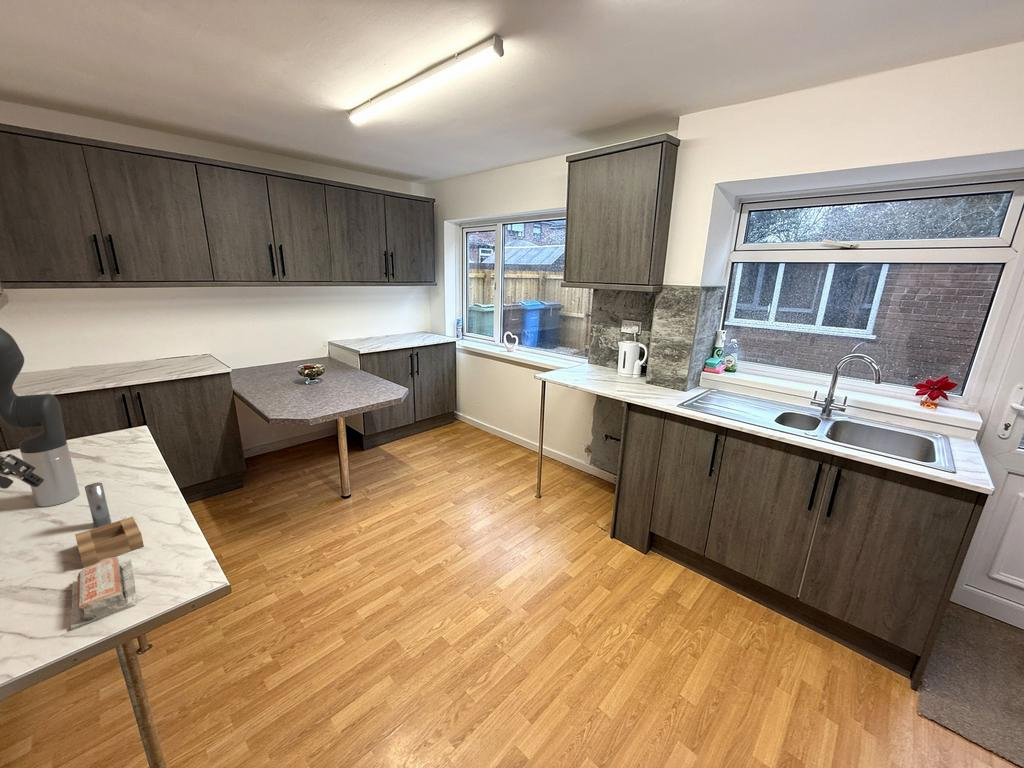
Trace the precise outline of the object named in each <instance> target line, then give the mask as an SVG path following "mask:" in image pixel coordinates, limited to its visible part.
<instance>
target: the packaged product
mask: <svg viewBox="0 0 1024 768" xmlns="http://www.w3.org/2000/svg"><path fill="white" fill-rule="evenodd" d="M71 593H72V594H71V612H70V614H71V615H70V616H71V618H70V630H71V631H73V630H77V629H79V628H81V627H85V626H86V625H89V624H91V623H94V622H97V621H99V620H102V619H104V618H107V617H109V616H112V615H114V614H115V615H116V614H117V613H119V612H123V611H125V610H127V609H130V608H132V606H133V607H135V606H137V605H138V604H137V601H138V598H137V592H136V584H135V575H134V568H133V562H132V560H131V559H129V560H125V561H122V562H119V557H118V556H116V557H113V558H106V559H103V560H101V561H100V562H97V563H95V564H93V565H91V566H88V567H85V568H83V569H82V570H81V571H79V572H78V574H77V579H74V580H72V592H71ZM122 610H123V611H122Z"/></svg>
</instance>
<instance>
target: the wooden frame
mask: <svg viewBox="0 0 1024 768" xmlns="http://www.w3.org/2000/svg"><path fill="white" fill-rule="evenodd" d="M74 537H75V541H76V544H77V548H78V549H77V550H78V553H79V557H80V560H81V564H82V568H83V569H85V568H87V567H89V566H92V565H93V564H95V563H97V562H100V561H101V560H103V559H106V558H113V557H118V556H121V555H124V554H127V553H130V552H132V551H136V550H139V549H141V548H144V547H145V545H144V540H143V536H142V532H141V530H140V528H139V525H138V524H137V522H136V521H135V519H134V516H131V517H127V518H124V519H121V520H117V521H114V522H111V523H110V524H107V525H104V526H101V527H97V528H95V527H94V528H91V529H88V530H85V531H82V532H79V533H76V534H74Z"/></svg>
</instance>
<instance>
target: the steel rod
mask: <svg viewBox="0 0 1024 768" xmlns="http://www.w3.org/2000/svg"><path fill="white" fill-rule="evenodd" d="M84 491H85V495H86V498H87V503H88V506H89V510H90V514H91V515H90V516H91V519H92V523H93V526H94V528H95V527H96V528H97V527H101V526H104V525H107V524H110V523H112V520H111V515H110V511H109V507H108V503H107V497H106V493H105V489H104V485H103V482H93V483H90V484H89V483H88V484H87V485H86V486H85V487H84Z"/></svg>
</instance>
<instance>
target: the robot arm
mask: <svg viewBox="0 0 1024 768" xmlns="http://www.w3.org/2000/svg"><path fill="white" fill-rule="evenodd" d="M24 365H25V356H24V354H23V352H22V351H21V349H20V346H19V345H18V343H17V341H16V340H15V338H14V337H13V336H12V335H11V334H10V333H9V332H8V331H6V330H5V329H4V328H2V327H0V419H1V420H2V422H3V423H4V424H5V425H6V426H8V427H9V428H12V429H23V428H33V427H42V431H41V432H39V433H37V434H34V435H31V436H29V437H26V438H24V439H22V440H21V441H19V444H18V447H19V450H20V451H19V452H20V454H21V457H22V459H21V458H19V457H17V456H15V455H14V454H11V453H8V454H7V455H6V456H3V455H0V488H1V489H3V490H5V489H8V488H10V486H11V485H13V484H14V480H13V479H11V478H14V479H18V480H19V481H21V482H23V483H25V484H27V485H29V486H30V490H31V492H32V497H33V499H34V503H35V505H36V506H37V507H51V506H57V505H61V504H64V503H66V502H69V501H72V500H74V499H76V498H77V497H79V496H80V489H79V486H78V485H79V484H78V481H77V478H76V473H75V469H74V466H73V461H72V457H71V454H70V450H69V446H68V443H67V442H68V441H67V438H66V437H67V436H66V430H65V425H64V420H63V414H62V409H61V403H60V401H59V400H58V398H57V396H55V394H51V393H43V394H41V393H40V394H31V395H29V394H28V395H17V394H16V393H15V391H14V388H13V386H14V384H15V381H16V380H17V377H18V375H19V374H20V372H21V371H22V369H23V367H24ZM10 477H11V478H10Z"/></svg>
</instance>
